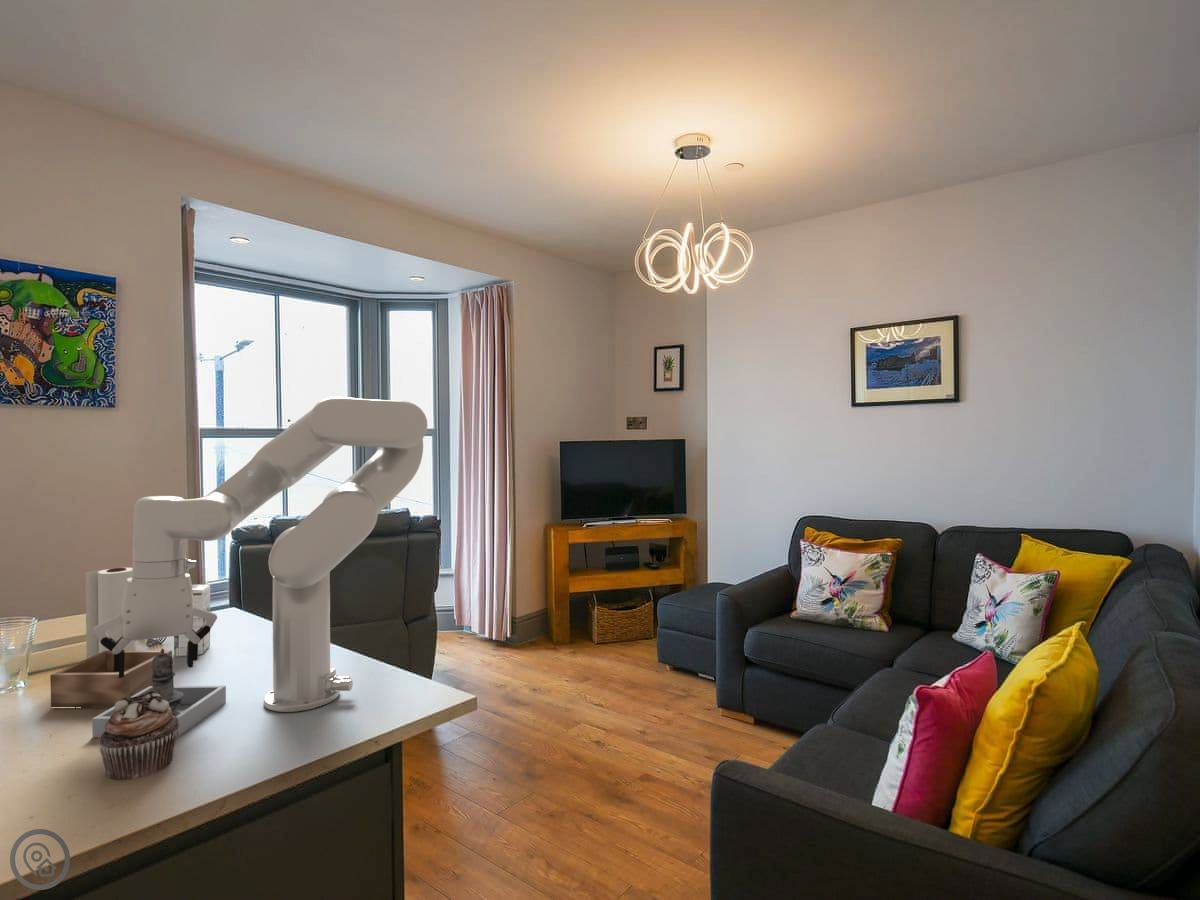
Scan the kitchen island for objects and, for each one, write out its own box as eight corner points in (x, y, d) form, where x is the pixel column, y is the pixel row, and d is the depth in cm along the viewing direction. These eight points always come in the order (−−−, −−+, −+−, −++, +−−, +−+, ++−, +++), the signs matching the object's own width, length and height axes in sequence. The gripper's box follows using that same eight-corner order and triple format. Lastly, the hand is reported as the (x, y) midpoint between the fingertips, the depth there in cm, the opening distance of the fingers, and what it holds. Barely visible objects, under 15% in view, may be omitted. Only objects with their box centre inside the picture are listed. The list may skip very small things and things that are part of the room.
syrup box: (181, 649, 148) (180, 585, 147) (211, 646, 149) (210, 583, 149) (173, 657, 142) (172, 591, 142) (204, 654, 144) (203, 589, 144)
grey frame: (225, 702, 118) (225, 685, 118) (178, 736, 104) (178, 717, 104) (149, 702, 118) (149, 686, 118) (92, 737, 104) (92, 718, 104)
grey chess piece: (163, 727, 108) (162, 655, 107) (133, 724, 109) (132, 653, 109) (192, 713, 113) (191, 644, 113) (163, 710, 114) (162, 642, 114)
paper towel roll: (143, 671, 134) (142, 567, 133) (115, 681, 128) (113, 573, 127) (116, 668, 135) (114, 565, 135) (86, 678, 130) (85, 571, 129)
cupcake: (86, 771, 93) (84, 702, 93) (159, 744, 102) (158, 680, 102) (118, 790, 89) (117, 717, 88) (193, 759, 97) (192, 692, 97)
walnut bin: (172, 680, 128) (172, 650, 128) (125, 708, 115) (125, 674, 115) (105, 681, 128) (105, 650, 128) (50, 708, 115) (50, 674, 115)
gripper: (216, 561, 119) (213, 656, 119) (95, 569, 108) (92, 672, 108) (220, 568, 113) (217, 668, 113) (94, 578, 102) (90, 687, 102)
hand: (156, 670), depth 111 cm, fingers open, 9 cm apart
